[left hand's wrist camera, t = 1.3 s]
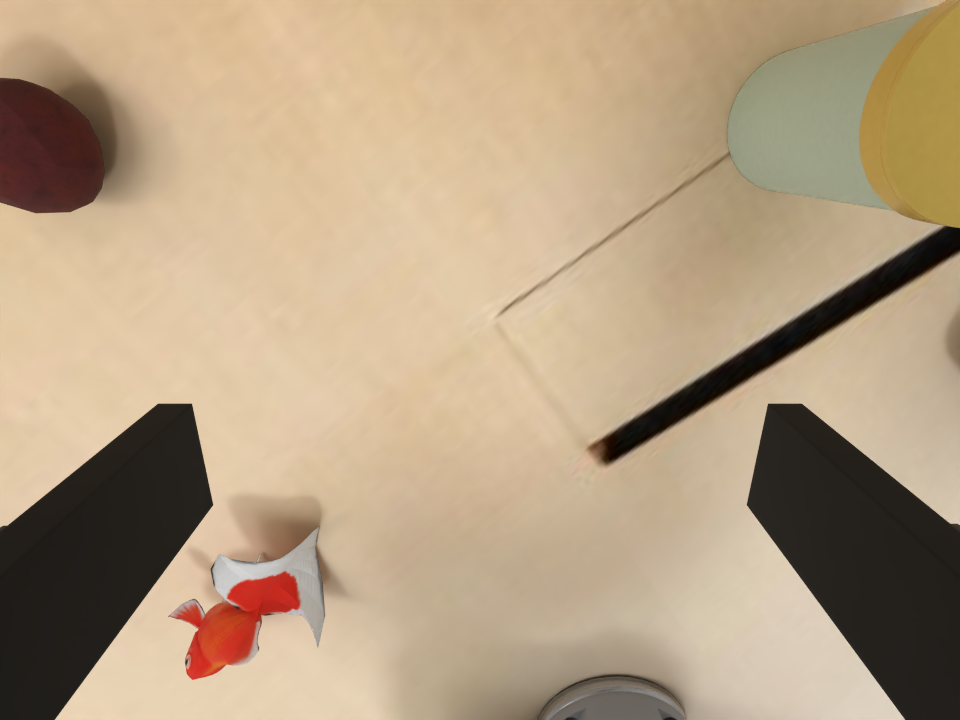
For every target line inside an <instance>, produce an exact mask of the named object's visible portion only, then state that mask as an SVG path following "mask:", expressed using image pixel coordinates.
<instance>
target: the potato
mask: <svg viewBox="0 0 960 720" xmlns="http://www.w3.org/2000/svg"><path fill="white" fill-rule="evenodd" d="M104 170H105V169H104V163H103V158H102V152H101V147H100V143H99V141H98V139H97V137H96V135H95V133H94V131H93V129H92V127H91V125H90V123H89V121H88V119H87V118H86V117H85V116H84V115H83V114H82V113H81V112H80V111H78V110H77V109H76V108H75V107H74V106H73V105H72V104H71V103H69V102H68V101H66V100H65V99H63V98H62V97H60V96H58V95H57V94H55V93H54V92H52V91H51V90H49V89H47V88H44V87H42V86H39V85H36V84H34V83H31V82H27V81H24V80H20V79H9V78H0V203H4V204H7V205H10V206H14V207H17V208H20V209H24V210H27V211H30V212H34V213H57V212H72V211H74V210H76V209H78V208H81V207H83V206H85V205H88V204H90V203H91V202H93V201H94V199H95V198H96V196H97V195H98V193H99V192H100V190H101V189H102V183H103V177H104Z"/></svg>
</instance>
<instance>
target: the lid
mask: <svg viewBox="0 0 960 720" xmlns="http://www.w3.org/2000/svg"><path fill="white" fill-rule="evenodd" d="M859 144H860V155H861V160H862V165H863V169H864V171H865V174H866V177H867V179H868V181H869V183H870V185H871V186H872V188H873V190H874V191H875V193H876V194H877V195H878V196H879V197H880V199H881V200H882V201H883V202H884V203H885V204H887V205H888V206H889V207H890V208H891V209H893V210H895V211H896V212H898V213H900V214H901V215H904V216H906V217H909V218H911V219H914V220H919V221H923V222H928V223H934V224H939V225H945V226H951V227H960V0H946V1H944V2H943V3H941V4H940V5H938V6H937V7H935V8H933V9H932V10H931V11H930V12H928V13H927V14H926V15H924V16H923V17H922V18H921V19H919V20H918V21H917V22H916V23H915V24H914V25H913V26H912V27H911V28H910V29H909V30H908V31H907V32H906V33H905V34H904V35H903V36H902V38H901V39H900V40H899V41H898V42H897V44H896V45H895V46H894V47H893V48H892V50H891V51H890V53H889V54H888V56H887V57H886V59H885V60H884V62H883V63H882V65H881V67H880V69H879V70H878V72H877V74H876V76H875V78H874V80H873V82H872V85H871V87H870V89H869V92H868V94H867V98H866V101H865V104H864V108H863V112H862V117H861V123H860V136H859Z"/></svg>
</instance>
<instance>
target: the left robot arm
mask: <svg viewBox="0 0 960 720" xmlns="http://www.w3.org/2000/svg"><path fill="white" fill-rule="evenodd" d="M212 506H213V502H212V497H211V492H210V488H209V483H208V478H207V473H206V469H205V464H204V459H203V454H202V450H201V445H200V440H199V435H198V431H197V426H196V421H195V416H194V412H193V407H192V404H157V405H156V406H155V407H154V408H152V409H151V410H150V411H149V412H147V413H146V414H145V415H144V416H143V417H141V418H140V419H139V420H138V421H136V422H135V423H134V424H133V425H131V426H130V427H129V428H128V429H126V430H125V431H124V432H123V433H122V434H120V435H119V436H118V437H117V438H115V439H114V440H113V441H112V442H110V443H109V444H108V445H107V446H105V447H104V448H103V449H102V450H101V451H99V452H98V453H97V454H96V455H94V456H93V457H92V458H91V459H89V460H88V461H87V462H86V463H84V464H83V465H82V466H81V467H80V468H78V469H77V470H76V471H75V472H73V473H72V474H71V475H70V476H68V477H67V478H66V479H65V480H63V481H62V482H61V483H60V484H59V485H57V486H56V487H55V488H54V489H52V490H51V491H50V492H49V493H47V494H46V495H45V496H44V497H42V498H41V499H40V500H39V501H38V502H36V503H35V504H34V505H33V506H31V507H30V508H29V509H28V510H26V511H25V512H24V513H23V514H21V515H20V516H19V517H18V518H17V519H15V520H14V521H13V522H12V523H10V524H9V525H8V526H2V527H0V720H55V719H56V717H57V716H58V715H59V713H60V712H61V710H62V709H63V708H64V706H65V705H66V704H67V702H68V701H69V700H70V698H71V697H72V696H73V694H74V693H75V691H76V690H77V689H78V687H79V686H80V685H81V683H82V682H83V681H84V679H85V678H86V677H87V675H88V674H89V673H90V671H91V670H92V668H93V667H94V666H95V664H96V663H97V662H98V660H99V659H100V658H101V656H102V655H103V654H104V652H105V651H106V649H107V648H108V647H109V645H110V644H111V643H112V641H113V640H114V639H115V637H116V636H117V635H118V633H119V632H120V630H121V629H122V628H123V626H124V625H125V624H126V622H127V621H128V620H129V618H130V617H131V616H132V614H133V613H134V612H135V610H136V609H137V607H138V606H139V605H140V603H141V602H142V601H143V599H144V598H145V597H146V595H147V594H148V593H149V591H150V590H151V588H152V587H153V586H154V584H155V583H156V582H157V580H158V579H159V578H160V576H161V575H162V574H163V572H164V571H165V570H166V568H167V567H168V565H169V564H170V563H171V561H172V560H173V559H174V557H175V556H176V555H177V553H178V552H179V551H180V549H181V548H182V546H183V545H184V544H185V542H186V541H187V540H188V538H189V537H190V536H191V534H192V533H193V532H194V530H195V529H196V527H197V526H198V525H199V523H200V522H201V521H202V519H203V518H204V517H205V515H206V514H207V513H208V511H209V510H210V509H211V507H212ZM747 506H748V507H749V509H750V510H751V511H752V513H753V514H754V515H755V517H756V518H757V519H758V521H759V522H760V523H761V525H762V526H763V527H764V529H765V530H766V532H767V533H768V534H769V536H770V537H771V538H772V540H773V541H774V542H775V544H776V545H777V546H778V548H779V549H780V551H781V552H782V553H783V555H784V556H785V557H786V559H787V560H788V561H789V563H790V564H791V565H792V567H793V568H794V570H795V571H796V572H797V574H798V575H799V576H800V578H801V579H802V580H803V582H804V583H805V584H806V586H807V587H808V588H809V590H810V591H811V593H812V594H813V595H814V597H815V598H816V599H817V601H818V602H819V603H820V605H821V606H822V607H823V609H824V610H825V612H826V613H827V614H828V616H829V617H830V618H831V620H832V621H833V622H834V624H835V625H836V626H837V628H838V629H839V630H840V632H841V633H842V635H843V636H844V637H845V639H846V640H847V641H848V643H849V644H850V645H851V647H852V648H853V649H854V651H855V652H856V654H857V655H858V656H859V658H860V659H861V660H862V662H863V663H864V664H865V666H866V667H867V668H868V670H869V671H870V673H871V674H872V675H873V677H874V678H875V679H876V681H877V682H878V683H879V685H880V686H881V687H882V689H883V690H884V691H885V693H886V694H887V696H888V697H889V698H890V700H891V701H892V702H893V704H894V705H895V706H896V708H897V709H898V710H899V712H900V713H901V715H902V716H903V717H904V719H905V720H960V525H958V524H950V523H948V522H947V521H946V520H945V519H943V518H942V517H941V516H940V515H939V514H937V513H936V512H935V511H934V510H932V509H931V508H930V507H929V506H927V505H926V504H925V503H924V502H922V501H921V500H920V499H919V498H918V497H916V496H915V495H914V494H913V493H911V492H910V491H909V490H908V489H906V488H905V487H904V486H903V485H901V484H900V483H899V482H898V481H897V480H895V479H894V478H893V477H892V476H890V475H889V474H888V473H887V472H885V471H884V470H883V469H882V468H880V467H879V466H878V465H877V464H876V463H874V462H873V461H872V460H871V459H869V458H868V457H867V456H866V455H864V454H863V453H862V452H861V451H859V450H858V449H857V448H856V447H855V446H853V445H852V444H851V443H850V442H848V441H847V440H846V439H845V438H843V437H842V436H841V435H840V434H838V433H837V432H836V431H835V430H834V429H832V428H831V427H830V426H829V425H827V424H826V423H825V422H824V421H822V420H821V419H820V418H819V417H817V416H816V415H815V414H814V413H813V412H811V411H810V410H809V409H808V408H806V407H805V406H804V405H803V404H768V407H767V412H766V416H765V421H764V426H763V431H762V435H761V440H760V445H759V450H758V454H757V459H756V464H755V469H754V473H753V478H752V483H751V488H750V492H749V497H748V502H747ZM538 720H686V718H685V715H684V712H683V710H682V708H681V706H680V704H679V703H678V701H677V700H676V699H675V698H674V696H672V695H671V694H670V693H669V692H668V691H666V690H665V689H663V688H662V687H660V686H658V685H656V684H654V683H651V682H649V681H646V680H642V679H638V678H632V677H620V676H614V677H601V678H596V679H591V680H587V681H584V682H581V683H578V684H576V685H573V686H571V687H569V688H567V689H566V690H564V691H562V692H561V693H559V694H558V695H557V696H555V697H554V698H553V699H552V700H551V701H550V702H549V703H548V704H547V705H546V706H545V708H544V709H543V710H542V712H541V714H540V716H539V718H538Z"/></svg>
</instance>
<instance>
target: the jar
mask: <svg viewBox="0 0 960 720" xmlns="http://www.w3.org/2000/svg"><path fill="white" fill-rule="evenodd" d="M935 7H937V6H935ZM935 7H932V8H929V9H925V10H922V11H919V12H915V13H912V14H909V15H905V16H902V17H899V18H895V19H892V20H889V21H885V22H882V23H879V24H875V25H872V26H869V27H865V28H862V29H859V30H855V31H852V32H849V33H845V34H842V35H839V36H835V37H832V38H829V39H825V40H822V41H819V42H816V43H812V44H809V45H806V46H802V47H799V48H796V49H792V50H789V51H786V52H783V53H781V54H779V55H777V56H775V57H773V58H771V59H770V60H768V61H767V62H765V63H764V64H763V65H761V66H760V67H759V68H758V69H757V70H756V71H755V72H754V73H753V74H752V75H751V76H750V77H749V78H748V80H747V81H746V82H745V83H744V85H743V86H742V88H741V89H740V91H739V93H738V95H737V97H736V99H735V101H734V103H733V106H732V109H731V112H730V116H729V120H728V129H727V141H728V147H729V151H730V155H731V158H732V160H733V162H734V164H735V166H736V168H737V169H738V171H739V172H740V173H741V174H742V175H743V176H744V177H745V178H746V179H747V180H748V181H749V182H751V183H752V184H754V185H756V186H758V187H760V188H763V189H766V190H771V191H776V192H782V193H788V194H794V195H801V196H807V197H813V198H819V199H825V200H831V201H837V202H844V203H850V204H856V205H862V206H868V207H874V208H880V209H886V210H893V209H891V208H890V207H889V206H888V205H887V204H885V203H884V202H883V201H882V200H881V199H880V197H879V196H878V195H877V194H876V193H875V191H874V190H873V188H872V186H871V185H870V183H869V181H868V179H867V177H866V174H865V171H864V169H863V165H862V160H861V155H860V144H859V136H860V123H861V117H862V112H863V108H864V104H865V101H866V98H867V94H868V92H869V89H870V87H871V85H872V82H873V80H874V78H875V76H876V74H877V72H878V70H879V69H880V67H881V65H882V63H883V62H884V60H885V59H886V57H887V56H888V54H889V53H890V51H891V50H892V48H893V47H894V46H895V45H896V44H897V42H898V41H899V40H900V39H901V38H902V36H903V35H904V34H905V33H906V32H907V31H908V30H909V29H910V28H911V27H912V26H913V25H914V24H915V23H916V22H917V21H918V20H919V19H921V18H922V17H923V16H924V15H926V14H927V13H928V12H930V11H931V10H932V9H933V8H935ZM893 211H895V210H893Z"/></svg>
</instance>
